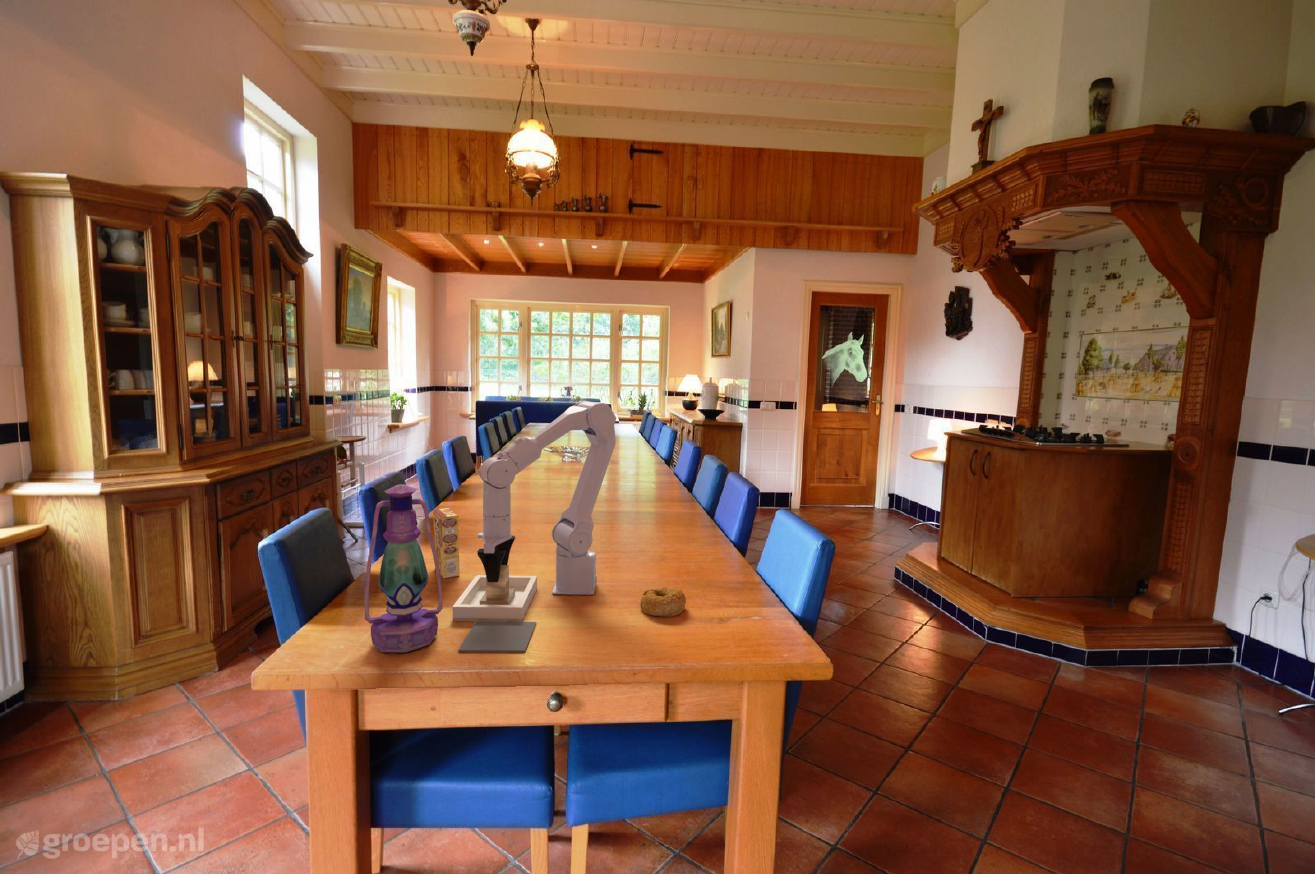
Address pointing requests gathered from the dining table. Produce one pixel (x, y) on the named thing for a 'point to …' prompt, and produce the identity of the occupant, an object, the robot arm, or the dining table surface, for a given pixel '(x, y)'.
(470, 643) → the rubber mat
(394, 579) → the lantern
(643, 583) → the dining table surface
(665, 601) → the bagel
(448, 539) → the candy box
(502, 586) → the maple block
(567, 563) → the robot arm
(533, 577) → the tray
